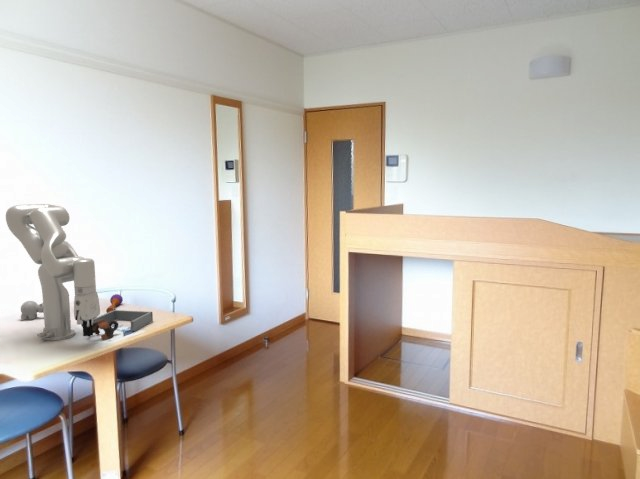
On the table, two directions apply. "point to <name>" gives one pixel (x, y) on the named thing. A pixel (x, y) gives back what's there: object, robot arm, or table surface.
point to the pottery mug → (105, 328)
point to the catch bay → (128, 318)
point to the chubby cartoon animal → (31, 310)
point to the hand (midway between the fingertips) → (88, 335)
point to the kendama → (114, 302)
